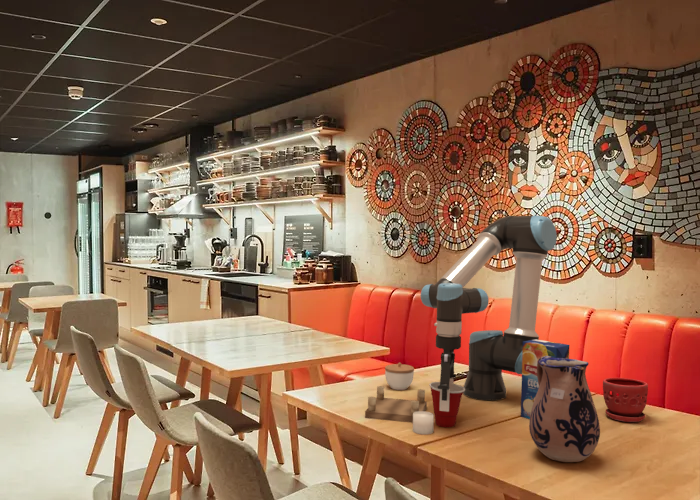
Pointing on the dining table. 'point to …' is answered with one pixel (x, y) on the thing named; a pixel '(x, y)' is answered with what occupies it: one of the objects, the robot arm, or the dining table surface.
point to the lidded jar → (399, 376)
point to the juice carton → (529, 368)
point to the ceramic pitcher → (564, 411)
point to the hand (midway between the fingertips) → (446, 404)
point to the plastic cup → (454, 401)
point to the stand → (394, 407)
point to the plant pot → (625, 399)
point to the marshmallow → (423, 422)
